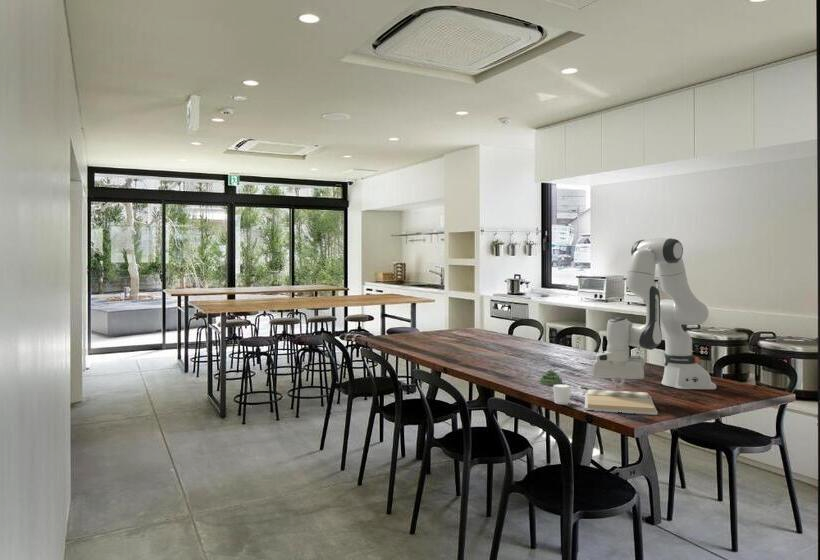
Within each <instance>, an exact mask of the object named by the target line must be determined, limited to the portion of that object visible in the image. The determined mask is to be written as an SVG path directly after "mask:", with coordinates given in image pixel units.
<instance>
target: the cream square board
mask: <svg viewBox="0 0 820 560" xmlns="http://www.w3.org/2000/svg"><path fill="white" fill-rule="evenodd" d="M587 410H594V411H593V412H602V411H603V412H606V413H618V412H620V413H621V412H622V413H621V414H634V413H635V414H637V415H651V416H652V415H653V416H657V415H658V413H659V412H658V410H657V408H656V406H655V403H654V401H653V399H652V397H651V396H650V399H648V398H630V397H612V396H594V395H588V398H587V392H584V411H587Z"/></svg>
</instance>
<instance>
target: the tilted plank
mask: <svg viewBox="0 0 820 560" xmlns="http://www.w3.org/2000/svg"><path fill="white" fill-rule="evenodd" d="M586 393H587V398H588V395H594V396H612V397H630V398H648V399H650V397H651V395H650V394H649V392H643V391H627V390H626V391H625V390H609V389H608V390H606V389H587V392H586Z"/></svg>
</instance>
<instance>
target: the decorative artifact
mask: <svg viewBox="0 0 820 560" xmlns="http://www.w3.org/2000/svg"><path fill="white" fill-rule="evenodd" d="M539 381H540V382H539V383H540V384H541V385H542V384H543V385H542V386H547V385H548V386H550V387H553V385H556V384H563V378H562V377H561V376H560V375H559V374H558V373H557V372H554V370H552V368H551V369H550V370H547V372H545V373H544V374H543V373H542V374H541V377H540V378H539ZM548 386H547V387H548Z"/></svg>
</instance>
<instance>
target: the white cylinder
mask: <svg viewBox="0 0 820 560" xmlns="http://www.w3.org/2000/svg"><path fill="white" fill-rule="evenodd" d="M552 387H553V388H552V389H553V397H554V403H555V404H557V405H569V404H570V396H571V385H569V384H564V383H562V384H556V385H553V386H552ZM568 403H569V404H568Z"/></svg>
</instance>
